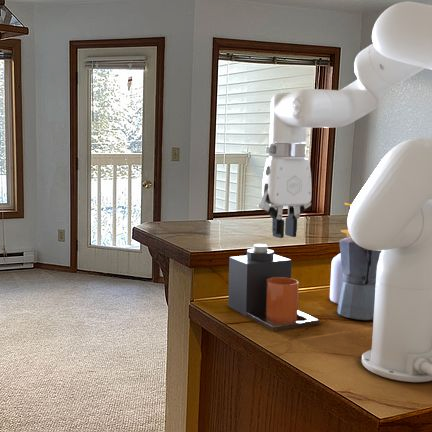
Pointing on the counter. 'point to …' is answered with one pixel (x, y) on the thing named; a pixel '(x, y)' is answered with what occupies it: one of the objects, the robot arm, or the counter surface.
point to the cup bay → (274, 326)
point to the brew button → (260, 248)
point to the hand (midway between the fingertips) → (284, 235)
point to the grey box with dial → (254, 279)
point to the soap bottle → (337, 274)
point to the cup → (282, 299)
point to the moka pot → (357, 280)
